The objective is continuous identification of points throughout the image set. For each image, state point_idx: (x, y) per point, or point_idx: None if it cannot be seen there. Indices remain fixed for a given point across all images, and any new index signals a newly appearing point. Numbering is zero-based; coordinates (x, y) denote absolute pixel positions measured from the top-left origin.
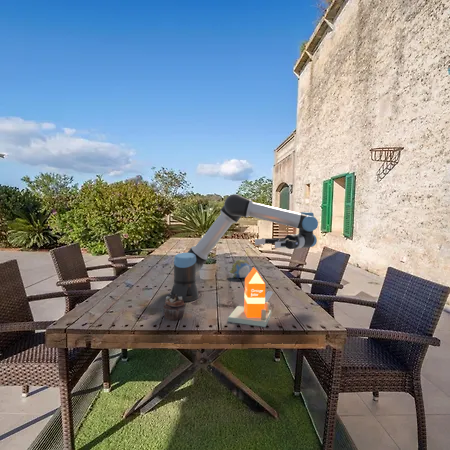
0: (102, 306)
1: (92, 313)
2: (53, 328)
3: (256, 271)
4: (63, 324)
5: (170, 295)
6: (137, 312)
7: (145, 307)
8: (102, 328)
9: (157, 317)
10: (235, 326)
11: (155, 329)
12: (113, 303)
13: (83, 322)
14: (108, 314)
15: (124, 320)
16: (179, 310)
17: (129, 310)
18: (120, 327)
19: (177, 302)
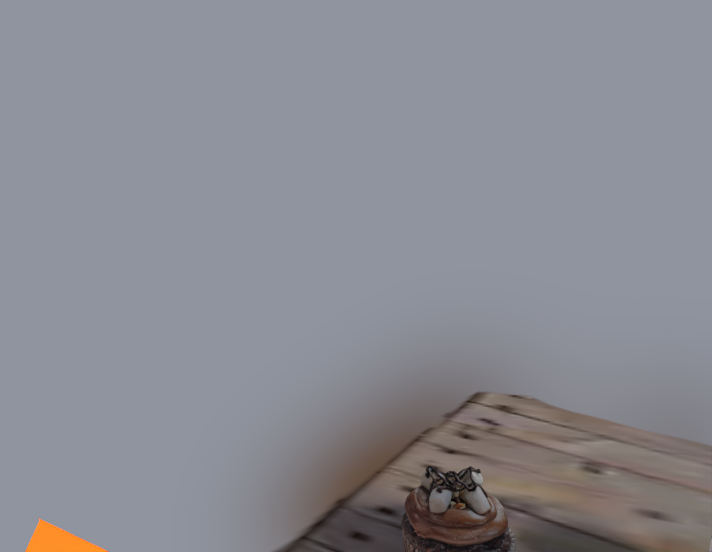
0: (663, 465)
1: (585, 441)
2: (484, 392)
3: (50, 525)
4: (505, 402)
5: (465, 470)
6: (562, 512)
7: (629, 545)
8: (437, 435)
9: None
10: None
11: (351, 503)
12: (703, 490)
13: (505, 422)
14: (562, 461)
15: (483, 473)
16: (406, 539)
17: (596, 502)
18: (423, 457)
19: (414, 497)
